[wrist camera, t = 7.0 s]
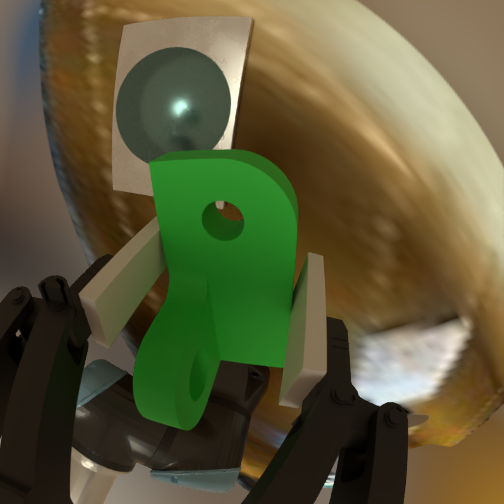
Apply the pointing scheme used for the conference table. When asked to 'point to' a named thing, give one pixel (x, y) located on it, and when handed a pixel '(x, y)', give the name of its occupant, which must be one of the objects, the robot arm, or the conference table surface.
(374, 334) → the conference table surface
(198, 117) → the carrier plate
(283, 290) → the mechanical part
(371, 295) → the conference table surface
